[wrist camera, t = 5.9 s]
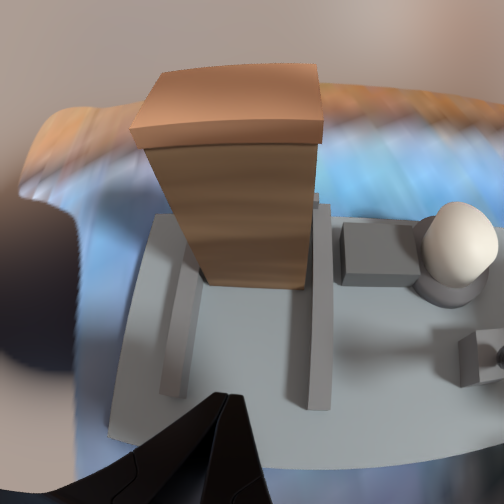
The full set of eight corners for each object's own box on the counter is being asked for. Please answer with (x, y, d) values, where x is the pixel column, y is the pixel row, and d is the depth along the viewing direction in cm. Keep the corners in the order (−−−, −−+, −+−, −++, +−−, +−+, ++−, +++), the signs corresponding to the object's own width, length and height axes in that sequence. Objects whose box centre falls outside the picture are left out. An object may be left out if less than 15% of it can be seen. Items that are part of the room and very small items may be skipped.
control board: (542, 426, 11) (587, 418, 7) (116, 437, 14) (70, 436, 11) (514, 234, 18) (543, 199, 14) (161, 220, 21) (137, 176, 17)
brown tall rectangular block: (305, 291, 17) (323, 120, 7) (207, 287, 17) (128, 128, 8) (306, 239, 18) (316, 64, 9) (216, 236, 19) (161, 72, 10)
